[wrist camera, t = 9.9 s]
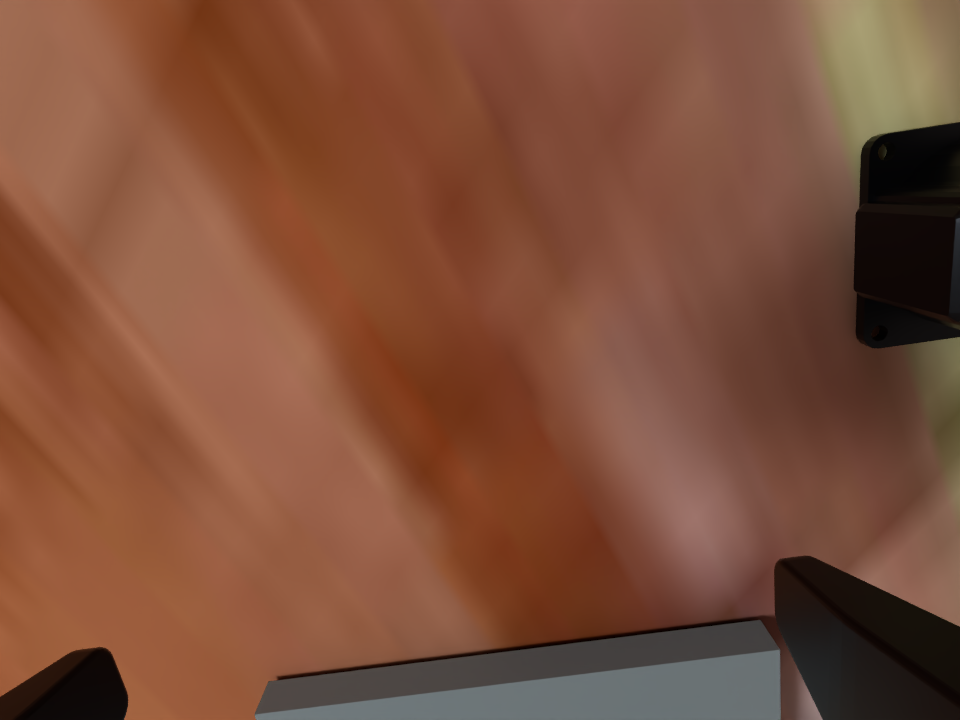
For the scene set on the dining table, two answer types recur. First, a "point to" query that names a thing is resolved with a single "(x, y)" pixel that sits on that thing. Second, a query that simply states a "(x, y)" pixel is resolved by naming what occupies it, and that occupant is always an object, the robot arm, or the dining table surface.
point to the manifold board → (558, 682)
